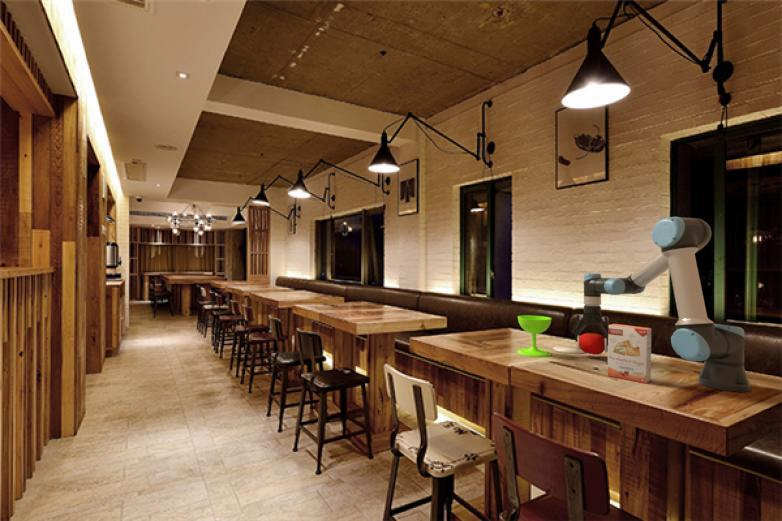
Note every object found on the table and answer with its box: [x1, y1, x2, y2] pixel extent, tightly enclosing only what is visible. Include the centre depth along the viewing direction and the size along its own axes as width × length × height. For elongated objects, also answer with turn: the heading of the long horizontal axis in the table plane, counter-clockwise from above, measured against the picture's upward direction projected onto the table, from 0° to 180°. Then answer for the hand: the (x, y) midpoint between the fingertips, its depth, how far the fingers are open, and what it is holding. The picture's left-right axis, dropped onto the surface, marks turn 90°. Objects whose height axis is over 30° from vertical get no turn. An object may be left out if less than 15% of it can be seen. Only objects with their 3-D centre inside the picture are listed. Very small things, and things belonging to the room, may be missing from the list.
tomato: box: [579, 331, 605, 356], centre depth 199 cm, size 11×12×10 cm
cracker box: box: [607, 323, 652, 385], centre depth 163 cm, size 14×6×21 cm, turn 43°
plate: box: [552, 345, 586, 355], centre depth 214 cm, size 16×16×1 cm
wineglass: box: [517, 315, 552, 358], centre depth 206 cm, size 16×16×18 cm
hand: (592, 350), depth 198 cm, fingers closed on tomato, 11 cm apart
